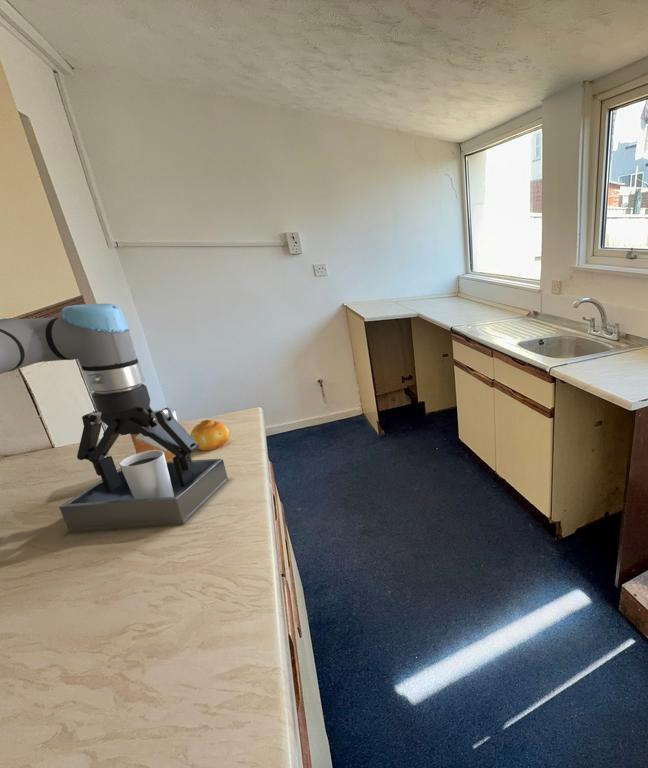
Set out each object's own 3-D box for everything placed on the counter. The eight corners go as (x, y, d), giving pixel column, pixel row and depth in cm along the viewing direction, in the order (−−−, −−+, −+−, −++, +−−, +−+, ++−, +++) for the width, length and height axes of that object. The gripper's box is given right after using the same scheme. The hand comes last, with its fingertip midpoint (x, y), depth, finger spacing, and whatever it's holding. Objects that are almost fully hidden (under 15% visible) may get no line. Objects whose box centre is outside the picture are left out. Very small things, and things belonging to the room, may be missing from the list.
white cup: (164, 489, 86) (151, 448, 83) (184, 495, 84) (171, 453, 81) (127, 506, 80) (111, 463, 77) (147, 513, 78) (132, 469, 75)
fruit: (211, 448, 101) (214, 417, 103) (180, 451, 101) (183, 420, 103) (234, 450, 109) (236, 421, 111) (205, 452, 109) (208, 423, 111)
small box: (143, 477, 93) (126, 426, 89) (147, 466, 98) (131, 417, 93) (187, 466, 97) (173, 418, 93) (188, 456, 102) (175, 410, 98)
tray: (70, 534, 74) (58, 506, 72) (134, 487, 89) (126, 464, 87) (184, 525, 76) (176, 498, 74) (228, 481, 91) (222, 458, 89)
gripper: (22, 397, 69) (65, 501, 76) (177, 391, 72) (206, 491, 79) (62, 384, 76) (98, 479, 83) (202, 379, 79) (226, 471, 86)
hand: (151, 485), depth 81 cm, fingers open, 13 cm apart
